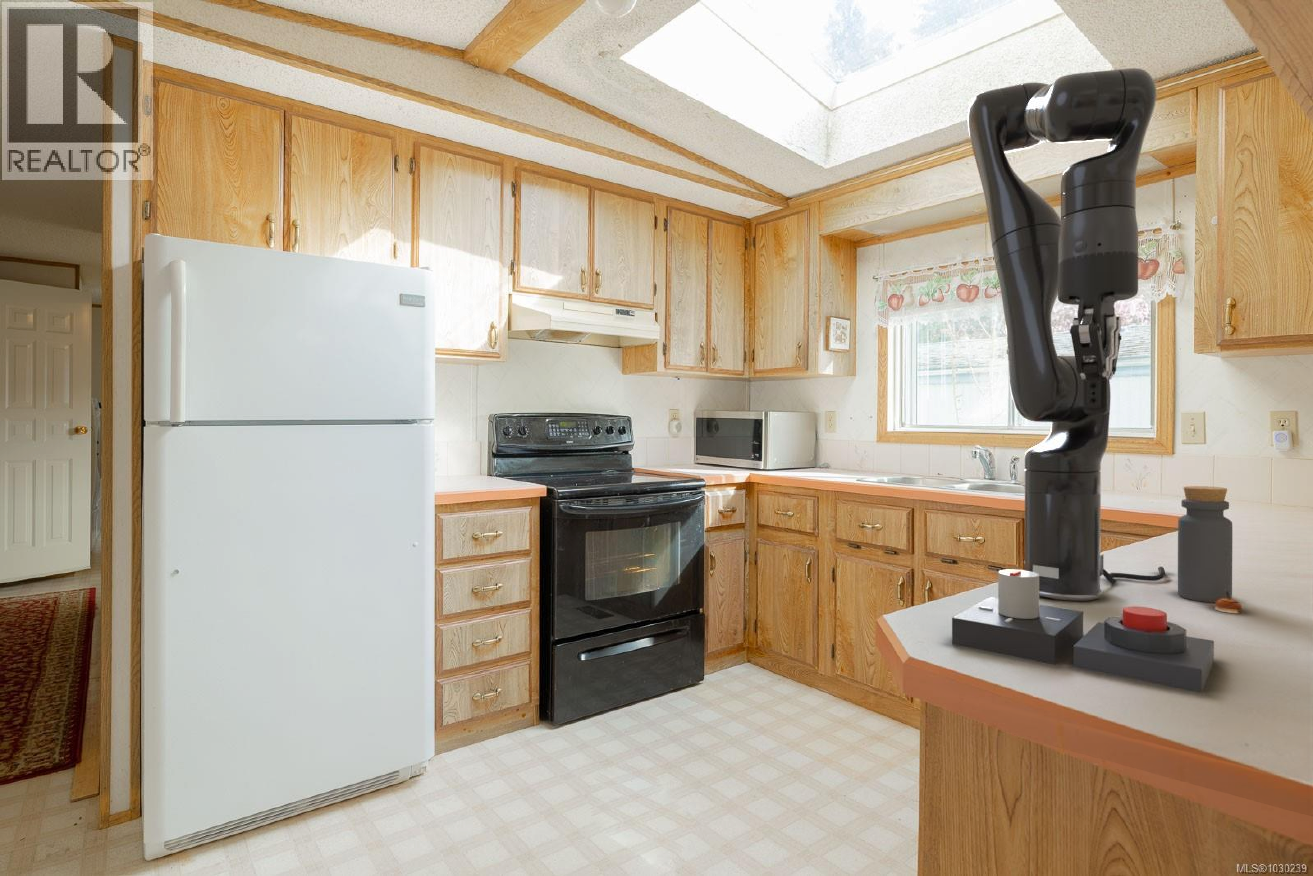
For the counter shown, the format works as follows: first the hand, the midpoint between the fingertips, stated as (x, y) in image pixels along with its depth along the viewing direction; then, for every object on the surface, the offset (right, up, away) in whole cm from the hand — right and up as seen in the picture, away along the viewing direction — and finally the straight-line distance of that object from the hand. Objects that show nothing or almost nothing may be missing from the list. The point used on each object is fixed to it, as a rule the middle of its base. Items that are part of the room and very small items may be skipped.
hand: (1096, 413), depth 78 cm
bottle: (+26, -25, +18) cm, 40 cm away
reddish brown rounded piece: (+24, -25, +11) cm, 36 cm away
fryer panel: (-9, -25, -1) cm, 27 cm away
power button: (-1, -22, -8) cm, 23 cm away
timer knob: (-9, -22, -1) cm, 24 cm away
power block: (-1, -25, -8) cm, 27 cm away
